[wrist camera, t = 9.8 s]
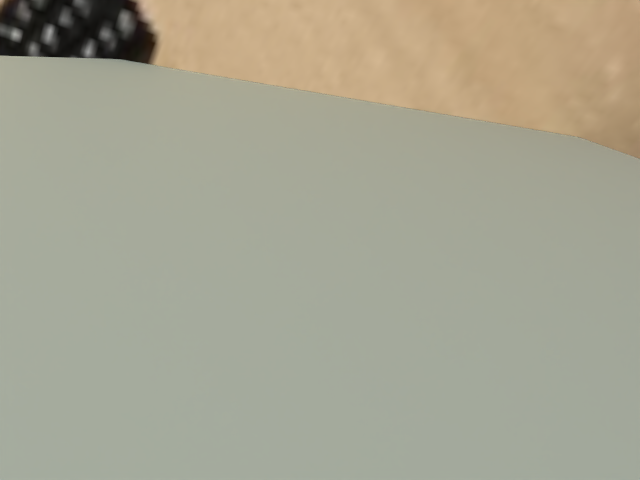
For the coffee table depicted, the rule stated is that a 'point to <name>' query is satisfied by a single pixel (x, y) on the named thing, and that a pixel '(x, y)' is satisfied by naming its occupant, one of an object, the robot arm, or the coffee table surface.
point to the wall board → (305, 286)
